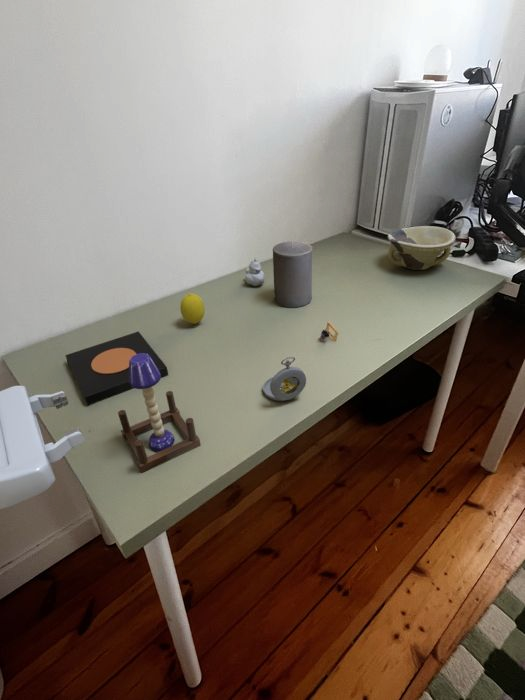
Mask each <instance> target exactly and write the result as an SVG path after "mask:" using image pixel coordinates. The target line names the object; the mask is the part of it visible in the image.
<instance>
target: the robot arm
mask: <svg viewBox="0 0 525 700" xmlns="http://www.w3.org/2000/svg"><path fill="white" fill-rule="evenodd" d="M68 404H69V400H68V399H67V395H66V393H65V391H57V392H54V393H52V394H48V393H47V394H35V395H32V396H30V394H29V392H28V390H27V388H26V386H24V385H13V386H10V387H8V388H4V389H2V390H0V510H2V509H7V508H10V507H12V506H16V505H18V504H20V503H23V502H25V501H27V500H30V499H32V498H35V497H36V496H38V495H41V494H42V493H44V492H46V491H47V490H48V489H50V488H51V487H52V485H53V484H54V483H55V482H56V476H55V473H54V470H53V467H52V464H53V463H56V462H58V461H60V460H61V459H62V458H63V457H65V455H67V453H69V451H71V450H72V448H75V447H77V446H79V445H81V444H83V443H85V438H84V436H83V433H82V431H81V429H80V427H76V426H75V427H74V428H72V429H69V430H66V431H65V432H64V433H65V436H63V437H62V438H60V439H59V440H57V442H55V443H54V442H52V441H51V442H49V443H46V444H45V440H44V437H43V434H42V432H41V427H40V424H39V421H38V418H37V415H36V414H37V413H40V412H43V411H44V409H47V408H56V410H59V409H61V408H62V407H66V406H68Z"/></svg>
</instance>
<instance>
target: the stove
mask: <svg viewBox="0 0 525 700" xmlns="http://www.w3.org/2000/svg"><path fill="white" fill-rule="evenodd" d="M139 353H146V354H148V355H149V356H150V357H151V358H152V360H153V362H154V363H155V365H156V367H157V368H158V370H159V372H160V374H161V378H164V377H167V376H169V371H168V367H167V365H166V364H165V363H164V362H163V360H162V359H161V358H160V356H159V355H158V354H157V353H156V352H155V350H154V349H153V347H151V345H150V344H149V343H148V341H147V340H146V339H145V338H144V336H143V335H142V334H141V332H140V331H138V330H137V331H135V332H132V333H129V334H125V335H123V336H120V337H117V338H114V339H110V340H107V341H105V342H101V343H98V344H95V345H93V346H89V347H85V348H83V349H79V350H78V351H74V352H72V353H68V354H65V356H64V357H65V359H66V361H67V364H68V367H69V368H70V370H71V373H72V375H73V378H74V379H75V381H76V384H77V386H78V388H79V391H80V393H81V394H82V397H83V399H84V401H85V403H86V406H88V407H89V406H91V405H93V404H96V403H98V402H101V401H104V400H106V399H109V398H111V397H114V396H117V395H120V394H122V393H124V392H127V391H130V390H132V389H134V388H133V387H132V386H131V385H130V383H129V361H130V358H131V357H132V356H134V355H136V354H139Z"/></svg>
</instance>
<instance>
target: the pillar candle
mask: <svg viewBox="0 0 525 700" xmlns="http://www.w3.org/2000/svg"><path fill="white" fill-rule="evenodd" d="M272 266H273V268H272V269H273V271H272V273H273V293H274V297H273V301H274V302H275V303H276V304H277V305H278V306H281V307H285V308H300V307H304V306H307V305H308V304H309V303H311V302H312V291H313V287H312V286H313V246H312V245H310V244H309V243H308V242H303V241H296V240H295V241H294V240H292V241H291V240H289V241H283V242H280V243H277V244H275V245H273V247H272Z"/></svg>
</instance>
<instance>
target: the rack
mask: <svg viewBox="0 0 525 700" xmlns="http://www.w3.org/2000/svg"><path fill="white" fill-rule="evenodd" d="M165 397H166V403H167V406H168V410H167V411H164V412H162V413H160V416H161V418H160V419H161V420H162V423H163V425H165V424H168V423H170V422H172V421H173V423H174V424H175V426H176V428H177V429H178V430H179V432H180V433H181V434H182V436H183V438H184V439H183V440H181V441H179V442H177V443H174V444H173V445H172V446H170V447H168V448H166V449H164V450H162V451H159V452H155V453H153V454H151V455H149V456H147V451H146V449H145V445H144V442H143V439H137V437H138V436H140V435H142V434H144V433H147V432H149V431H152V430H153V427H152V425H151V420H150V418H148V419H145V420H142V421H140V422H138V423H136V424H133V425H130V421H129V417H128V415H127V412H126V410H125V409H120V410H119V411H118V412H117V414H118V419H119V421H120V423H121V428H122V430H120V432H121V435H122V437H123V440H124V441H125V442H127V443H128V445H129V447H130V449H131V450H132V453H133V455H134V457H135V459H136V463H137V466H138V469H139V471H140V473H141V474H143V473H145V472H147V471H149V470H151V469H153V468H155V467H158V466H160V465H161V464H164V463H167V462H168V461H170V460H172V459H174V458H177V457H179V456H181V455H183V454H185V453H187V452H189V451H192V450H194V449H195V448H198V447H200V446H202V445H201V440H200V437H199V436H198V434H197V432H196V427H195V422H194V419H193V418H192V417H187V418H186V419H185V420H184V418H183V417H182V415H181V413H180V410H179V409H178V407H177V406H176V400H175V396H174V392H173V391H172V390H168V391H166V392H165Z"/></svg>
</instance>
